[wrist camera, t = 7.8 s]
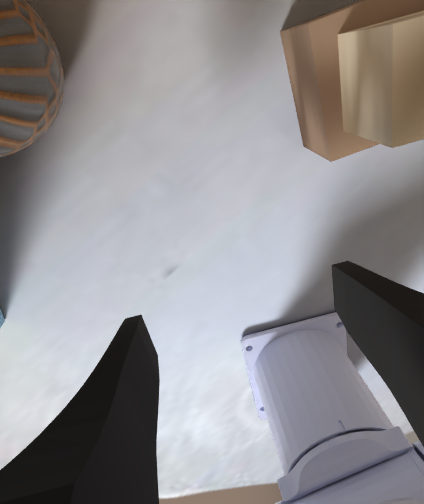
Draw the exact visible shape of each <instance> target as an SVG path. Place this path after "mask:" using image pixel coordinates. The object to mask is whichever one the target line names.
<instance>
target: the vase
mask: <svg viewBox="0 0 424 504" xmlns="http://www.w3.org/2000/svg"><path fill="white" fill-rule="evenodd" d="M63 91H64V74H63V67H62V62H61V58H60V55H59V52H58V49H57V46H56V44H55V42H54V39H53V37H52V35H51V33H50V32H49V30H48V28H47V26H46V25H45V23H44V22H43V20H42V19H41V17H40V16H39V15H38V13H37V12H36V11H35V10H34V9H33V7H32V6H31V5H30V4H29V3H28V2H27V1H26V0H0V157H4V156H7V155H11V154H13V153H16V152H18V151H20V150H22V149H24V148H26V147H28V146H29V145H31V144H32V143H34V142H35V141H37V140H38V139H39V138H40V137H41V136H42V135H43V134H44V133H45V132H46V131H47V130H48V129H49V128H50V126H51V125H52V123H53V122H54V120H55V118H56V116H57V114H58V112H59V109H60V106H61V103H62V98H63Z"/></svg>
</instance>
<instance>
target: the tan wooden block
mask: <svg viewBox="0 0 424 504" xmlns="http://www.w3.org/2000/svg"><path fill="white" fill-rule="evenodd" d="M423 10H424V0H361V1H358V2H356V3H353V4H351V5H348V6H345V7H343V8H340V9H338V10H335V11H333V12H330V13H327V14H325V15H322V16H320V17H317V18H315V19H312V20H309V21H307V22H304V23H302V24H299V25H296V26H294V27H291V28H289V29H286V30H284V31H281V32H280V34H281V39H282V44H283V48H284V53H285V58H286V63H287V68H288V73H289V78H290V83H291V87H292V92H293V97H294V102H295V107H296V112H297V117H298V121H299V126H300V131H301V136H302V141H303V146H304V147H305V148H307V149H309V150H311V151H313V152H315V153H316V154H318V155H320V156H322V157H324V158H325V159H327V160H329V161H331V162H332V161H334V160H337V159H340V158H342V157H345V156H348V155H351V154H353V153H356V152H359V151H361V150H364V149H367V148H370V147H372V146H375V145H378V144H379V143H377V142H374V141H371V140H368V139H365V138H362V137H359V136H356V135H353V134H350V133H348V132H345V131H343V116H342V100H341V83H340V66H339V49H338V34H341V33H345V32H348V31H352V30H356V29H359V28H363V27H366V26H370V25H373V24H377V23H381V22H384V21H388V20H391V19H395V18H398V17H402V16H406V15H409V14H413V13H416V12H420V11H423Z"/></svg>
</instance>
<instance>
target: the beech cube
mask: <svg viewBox="0 0 424 504" xmlns="http://www.w3.org/2000/svg"><path fill="white" fill-rule="evenodd" d="M338 49H339V66H340V83H341V100H342V116H343V131H345V132H348V133H350V134H353V135H356V136H359V137H362V138H365V139H368V140H371V141H374V142H377V143H379V144H382V145H385V146H388V147H391V148H394V147H397V146H401V145H404V144H408V143H411V142H415V141H419V140H422V139H424V10H423V11H420V12H416V13H413V14H409V15H406V16H402V17H398V18H395V19H391V20H388V21H384V22H381V23H377V24H373V25H370V26H366V27H363V28H359V29H356V30H352V31H348V32H345V33H341V34H338Z"/></svg>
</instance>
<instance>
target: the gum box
mask: <svg viewBox="0 0 424 504" xmlns="http://www.w3.org/2000/svg"><path fill="white" fill-rule="evenodd" d="M4 321H5V319H4V317H3V314H2V311H1V309H0V328H1V326H2V324H3V323H4Z"/></svg>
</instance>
